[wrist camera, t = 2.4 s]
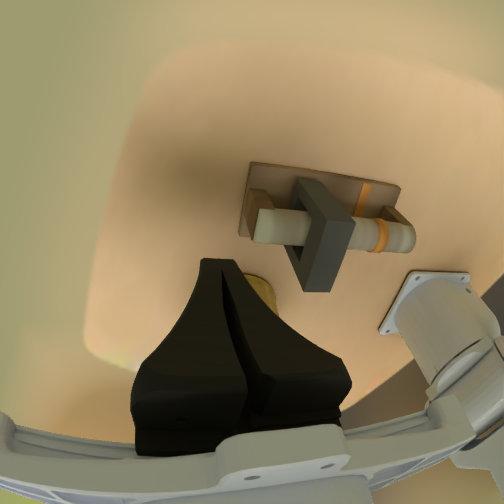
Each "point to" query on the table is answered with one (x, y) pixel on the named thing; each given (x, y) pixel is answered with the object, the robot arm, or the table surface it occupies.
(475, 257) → the table surface
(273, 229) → the pipe stand
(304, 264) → the dark grey square frame
